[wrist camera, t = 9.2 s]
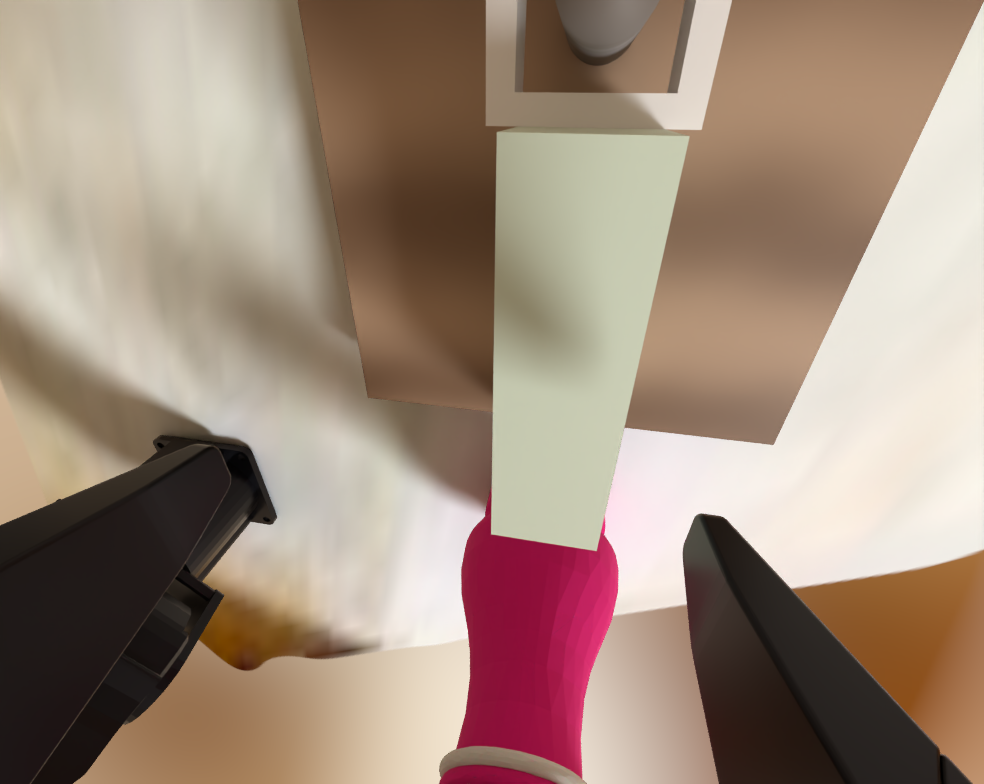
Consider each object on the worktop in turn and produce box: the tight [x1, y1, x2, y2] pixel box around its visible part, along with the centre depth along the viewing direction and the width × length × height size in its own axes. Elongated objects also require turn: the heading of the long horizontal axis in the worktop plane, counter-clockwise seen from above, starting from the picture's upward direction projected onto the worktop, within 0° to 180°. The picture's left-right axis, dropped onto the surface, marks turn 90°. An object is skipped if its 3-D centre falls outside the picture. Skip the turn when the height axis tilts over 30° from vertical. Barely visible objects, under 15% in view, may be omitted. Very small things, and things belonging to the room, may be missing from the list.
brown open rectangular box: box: [298, 0, 984, 445], centre depth 13 cm, size 14×16×8 cm
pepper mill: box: [439, 487, 618, 784], centre depth 16 cm, size 7×7×20 cm
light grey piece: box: [486, 0, 732, 551], centre depth 11 cm, size 14×4×6 cm, turn 0°
